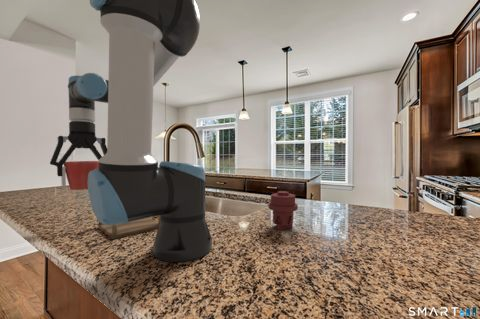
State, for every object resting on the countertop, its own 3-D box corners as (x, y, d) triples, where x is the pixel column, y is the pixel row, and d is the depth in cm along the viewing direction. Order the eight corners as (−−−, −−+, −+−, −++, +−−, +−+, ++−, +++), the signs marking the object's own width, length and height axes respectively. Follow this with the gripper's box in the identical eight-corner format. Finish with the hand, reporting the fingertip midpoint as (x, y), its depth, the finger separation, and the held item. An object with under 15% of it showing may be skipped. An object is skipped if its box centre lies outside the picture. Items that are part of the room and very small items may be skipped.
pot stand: (163, 227, 78) (163, 209, 78) (112, 239, 66) (112, 218, 66) (144, 218, 89) (144, 202, 89) (98, 227, 78) (98, 209, 77)
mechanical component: (268, 222, 83) (295, 223, 82) (268, 231, 73) (299, 232, 72) (268, 189, 83) (295, 190, 82) (268, 194, 73) (300, 194, 72)
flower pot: (88, 190, 74) (87, 161, 74) (56, 190, 74) (55, 161, 74) (108, 186, 84) (107, 160, 84) (79, 186, 84) (79, 161, 84)
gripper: (114, 126, 90) (115, 181, 90) (37, 119, 73) (39, 186, 73) (121, 124, 84) (122, 182, 85) (39, 116, 68) (41, 188, 68)
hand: (83, 184), depth 79 cm, fingers closed on flower pot, 10 cm apart
